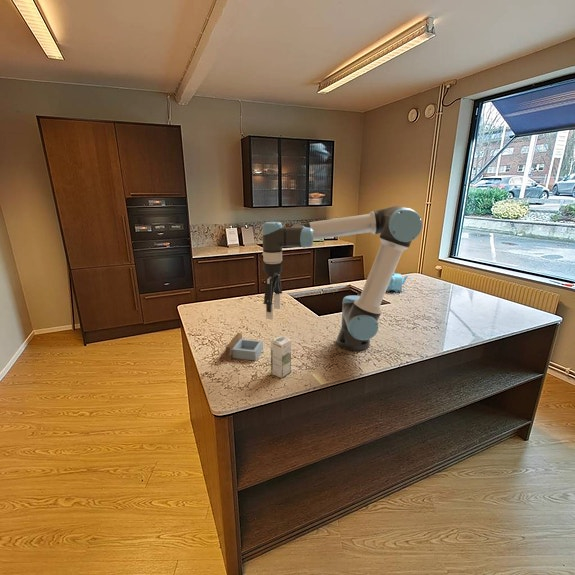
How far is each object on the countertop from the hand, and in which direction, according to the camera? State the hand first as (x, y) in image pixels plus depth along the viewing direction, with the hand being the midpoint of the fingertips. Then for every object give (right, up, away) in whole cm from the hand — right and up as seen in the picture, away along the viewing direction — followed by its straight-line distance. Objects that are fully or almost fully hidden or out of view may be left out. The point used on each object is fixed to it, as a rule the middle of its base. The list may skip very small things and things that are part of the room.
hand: (273, 313), depth 133 cm
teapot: (+83, +9, +96) cm, 127 cm away
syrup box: (+3, -23, -6) cm, 24 cm away
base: (-19, -18, +10) cm, 28 cm away
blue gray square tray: (-12, -18, +8) cm, 23 cm away
